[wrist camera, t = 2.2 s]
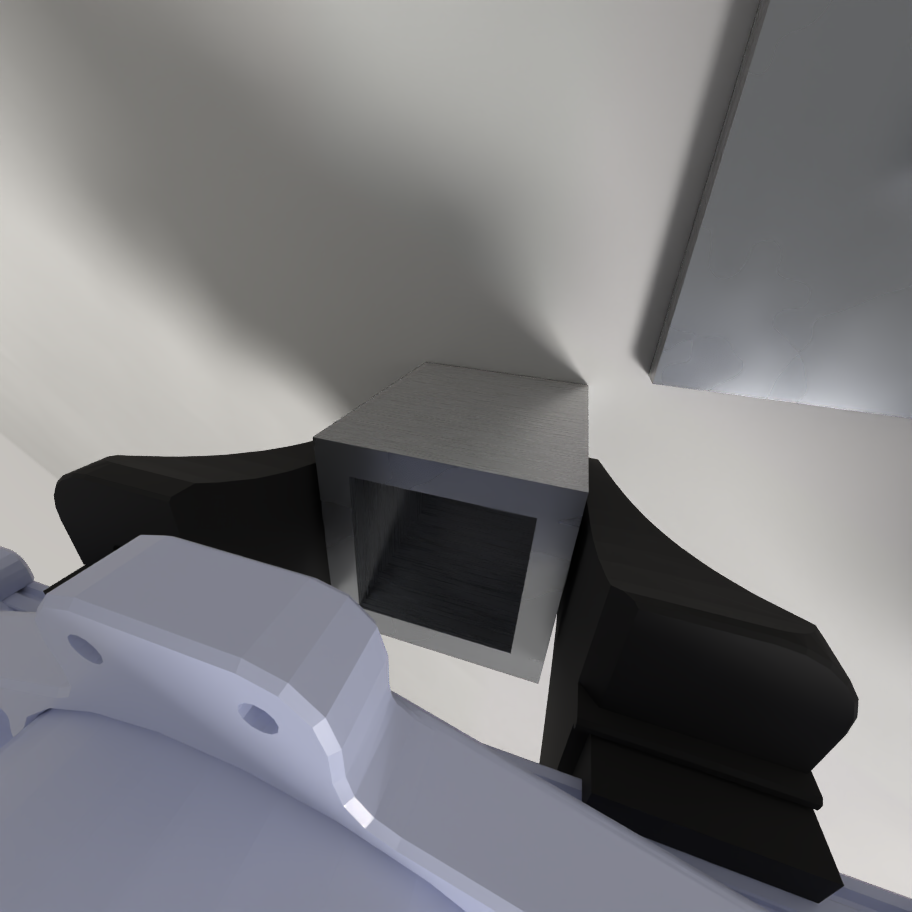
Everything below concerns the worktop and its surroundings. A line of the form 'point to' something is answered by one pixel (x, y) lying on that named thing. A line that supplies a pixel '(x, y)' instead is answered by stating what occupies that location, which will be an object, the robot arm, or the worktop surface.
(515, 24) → the worktop surface
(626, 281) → the worktop surface
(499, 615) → the sleeve
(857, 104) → the duct flange
